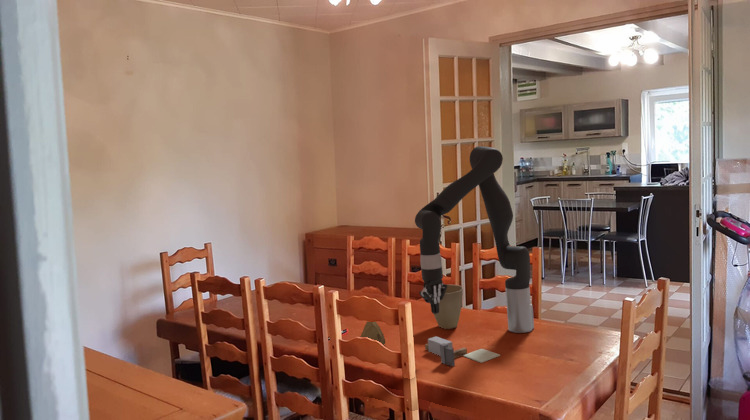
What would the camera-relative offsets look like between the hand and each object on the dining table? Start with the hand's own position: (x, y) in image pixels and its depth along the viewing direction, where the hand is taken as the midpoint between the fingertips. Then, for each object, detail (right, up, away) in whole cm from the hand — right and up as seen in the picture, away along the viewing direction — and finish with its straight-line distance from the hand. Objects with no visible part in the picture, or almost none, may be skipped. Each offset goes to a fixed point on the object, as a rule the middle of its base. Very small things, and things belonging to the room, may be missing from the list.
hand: (435, 313), depth 204 cm
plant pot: (+8, -11, +31) cm, 34 cm away
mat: (+16, -14, -5) cm, 22 cm away
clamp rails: (+4, -15, +2) cm, 15 cm away
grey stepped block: (+4, -16, -10) cm, 19 cm away
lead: (+2, -15, +1) cm, 15 cm away
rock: (-23, -16, +17) cm, 33 cm away
